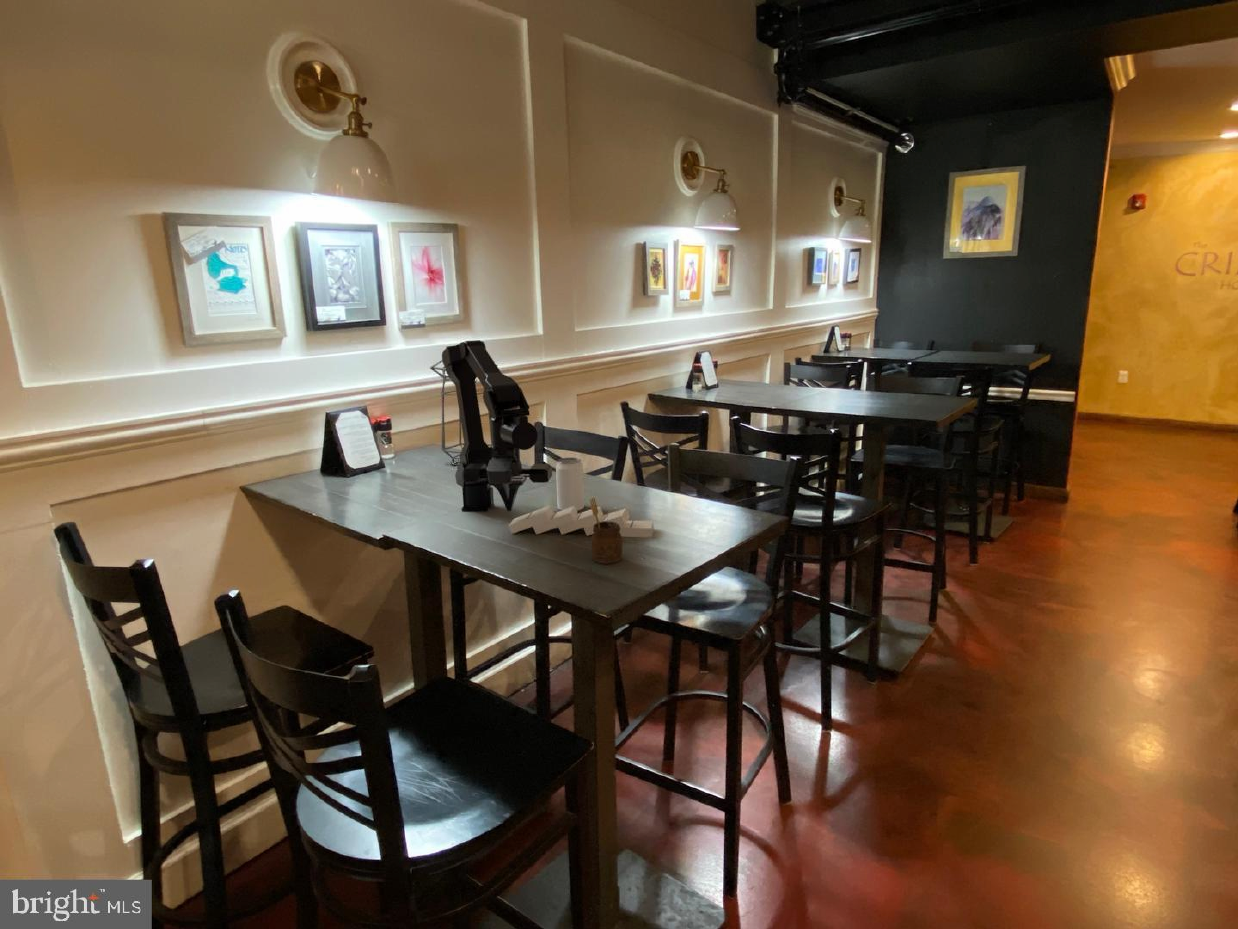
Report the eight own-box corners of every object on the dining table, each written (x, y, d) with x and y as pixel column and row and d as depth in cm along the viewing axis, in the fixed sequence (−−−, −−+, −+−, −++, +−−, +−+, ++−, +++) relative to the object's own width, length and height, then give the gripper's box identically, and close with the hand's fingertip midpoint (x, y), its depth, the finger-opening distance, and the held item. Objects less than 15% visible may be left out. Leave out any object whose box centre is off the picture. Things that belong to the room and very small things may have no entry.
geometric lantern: (433, 467, 214) (424, 349, 206) (464, 456, 228) (456, 346, 220) (477, 470, 208) (470, 349, 200) (506, 459, 222) (499, 346, 215)
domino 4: (583, 527, 153) (620, 516, 150) (589, 519, 157) (626, 507, 155) (586, 536, 153) (624, 524, 150) (593, 527, 158) (629, 516, 155)
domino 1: (508, 525, 155) (545, 512, 153) (514, 518, 160) (550, 505, 158) (512, 534, 155) (548, 520, 153) (518, 526, 160) (554, 513, 158)
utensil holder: (612, 566, 136) (610, 507, 133) (584, 560, 139) (583, 502, 136) (628, 557, 141) (627, 499, 138) (601, 551, 144) (600, 494, 141)
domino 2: (532, 526, 154) (569, 512, 152) (538, 518, 159) (574, 505, 157) (536, 534, 155) (573, 521, 153) (541, 527, 159) (578, 514, 158)
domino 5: (609, 527, 152) (651, 528, 151) (612, 520, 157) (653, 520, 156) (609, 536, 153) (651, 537, 152) (613, 529, 158) (653, 529, 156)
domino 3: (557, 526, 154) (595, 513, 152) (563, 518, 159) (599, 506, 157) (561, 534, 154) (599, 522, 152) (566, 527, 159) (603, 514, 157)
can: (580, 513, 168) (579, 464, 165) (554, 511, 170) (552, 463, 167) (587, 505, 175) (585, 457, 172) (561, 503, 176) (559, 456, 173)
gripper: (451, 449, 146) (457, 522, 150) (541, 450, 144) (544, 523, 148) (467, 438, 156) (472, 505, 160) (551, 438, 155) (553, 506, 159)
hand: (509, 510), depth 157 cm, fingers closed
